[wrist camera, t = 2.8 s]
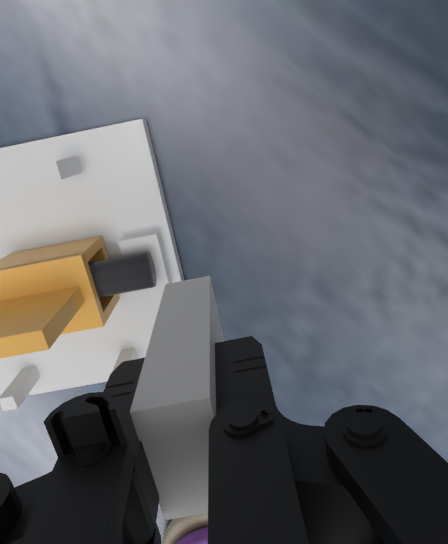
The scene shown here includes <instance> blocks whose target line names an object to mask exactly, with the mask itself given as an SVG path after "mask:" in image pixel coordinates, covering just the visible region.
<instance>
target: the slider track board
mask: <svg viewBox="0 0 448 544" xmlns="http://www.w3.org/2000/svg"><path fill="white" fill-rule="evenodd" d="M98 236H101V237H102V240H103V243H104V247H105V250H106V253H107V257H108V259H106V260H101V261H96V262H91V263H88V265H89V269H90V272H91V275H92V278H93V281H94V284H95V288H96V291H97V294H98V297H105V296H110V295H115V294H119V297H120V299H119V300H118V302H117V304H116V306H115V308H114V309H113V311H112V313H111V315H110V316H109V318H108V320H107V322H106V324H105V325H104V327H99V328H94V329H88V330H83V331H77V332H72V333H67V334H61V335H60V336H59V337H58V338H57V340H56V341H55V342H54V344H53V345H52V346H51V348H50V349H49V350H44V351H38V352H33V353H27V354H22V355H17V356H11V357H6V358H0V404H1V407H2V409H3V411H9V410H14V409H18V408H19V407H20V405H21V404H22V402H23V401H24V400H25V398H26V397H27V396H28V395H34V394H40V393H45V392H51V391H56V390H62V389H68V388H73V387H79V386H84V385H90V384H96V383H101V382H107V381H108V379H109V376H110V374H111V373H112V372H113V371H114V370H115V369H116V368H117V367H118V366H119V365H120V364H121V363H122V362H124V361H129V360H134V359H140V358H145V356H146V352H147V349H148V345H149V341H150V338H151V334H152V331H153V327H154V324H155V320H156V316H157V313H158V309H159V306H160V302H161V299H162V295H163V291H164V288H165V284H169V283H174V282H179V281H184V276H183V272H182V267H181V263H180V259H179V255H178V251H177V247H176V242H175V238H174V234H173V230H172V226H171V222H170V217H169V213H168V209H167V205H166V201H165V197H164V192H163V188H162V184H161V180H160V176H159V171H158V167H157V163H156V159H155V155H154V151H153V146H152V142H151V138H150V134H149V130H148V126H147V121H146V119H138V120H133V121H129V122H124V123H119V124H114V125H109V126H105V127H100V128H95V129H90V130H85V131H81V132H76V133H71V134H66V135H61V136H56V137H52V138H47V139H42V140H37V141H32V142H28V143H23V144H18V145H13V146H8V147H3V148H0V259H2V258H4V257H5V256H7V255H8V254H10V253H16V252H21V251H26V250H31V249H36V248H41V247H46V246H51V245H57V244H62V243H67V242H72V241H77V240H82V239H87V238H92V237H98Z"/></svg>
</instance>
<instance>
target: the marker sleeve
mask: <svg viewBox="0 0 448 544" xmlns="http://www.w3.org/2000/svg"><path fill="white" fill-rule="evenodd" d="M106 259H108V257H107V253H106V250H105V247H104V243H103V240H102V237H101V236H98V237H92V238H87V239H82V240H77V241H72V242H67V243H62V244H57V245H51V246H46V247H41V248H36V249H31V250H26V251H21V252H16V253H10V254H8V255H7V256H5V257H4V258H2V259H0V358H6V357H11V356H17V355H22V354H27V353H33V352H38V351H44V350H49V349H50V348H51V346H52V345H53V344H54V342H55V341H56V340H57V338H58V337H59V336H60V335H61V334H67V333H72V332H77V331H83V330H88V329H94V328H99V327H104V325H105V324H106V322H107V320H108V318H109V316H110V315H111V313H112V311H113V309H114V308H115V306H116V304H117V302H118V300H119V299H120V297H119V294H115V295H110V296H105V297H98V294H97V291H96V288H95V284H94V281H93V278H92V275H91V272H90V269H89V265H88V263H91V262H96V261H101V260H106Z"/></svg>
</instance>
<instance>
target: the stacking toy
mask: <svg viewBox="0 0 448 544" xmlns="http://www.w3.org/2000/svg"><path fill="white" fill-rule="evenodd" d="M162 544H208V513H205V514H199V515H193V516H187V517H182V518H176V519H173V520H172V521H171V522H170V524H169V525H168V527H167V529H166V531H165V534H164V537H163V542H162Z"/></svg>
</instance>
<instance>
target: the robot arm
mask: <svg viewBox="0 0 448 544" xmlns="http://www.w3.org/2000/svg"><path fill="white" fill-rule="evenodd" d="M105 387H106V389H104V391H103V393H102V392H97V393H88V394H84V395H81V396H77V397H75V398H73V399H71V400H69V401H67V402H65V403H63V404H61V405H60V406H59V407H57V408H56V409H55V410H54V411H52V412H51V413H50V414H49V416H48V417H47V418H46V419H45V421H44V424H45V426H46V429H47V431H48V434H49V436H50V439H51V441H52V444H53V446H54V448H55V451H56V453H57V456H58V459H57V462H56V464H55V466H54V468H53V470H52V472H50V473H48V474H46V475H44V476H41V477H39V478H36V479H34V480H32V481H29V482H27V483H24V484H22V485H20V486H17V487H15V488H14V486H13V484H12V482H11V480H10V479H9V477H8V476H7V475H6V474H3V473H0V544H161V535H160V532H159V529H158V526H157V523H156V518H157V511H158V504H160V507H161V510H162V513H163V516H164V519H165V520H170V519H176V518H182V517H187V516H193V515H199V514H205V513H208V544H448V463H447V462H446V461H445V460H444V459H443V458H442V457H441V456H440V455H439V454H438V453H437V452H435V451H434V450H433V449H432V448H431V447H430V446H429V445H428V444H427V443H426V442H425V441H424V440H423V439H421V438H420V437H419V436H418V435H417V434H416V433H415V432H414V431H413V430H412V429H411V428H410V427H408V426H407V425H406V424H405V423H404V422H403V421H402V420H401V419H400V418H399V417H397V416H396V415H394V414H392V413H391V412H389V411H388V410H385V409H382V408H379V407H375V406H369V405H355V406H350V407H345V408H342V409H341V410H339V411H337V412H335V413H333V414H332V415H331V416H330V418H329V419H328V420H327V421H326V423H325V427H322V426H309V425H303V424H299V423H296V422H293V421H291V420H289V419H287V418H286V417H284V416H283V415H282V414H281V413H280V412H279V411H278V409H277V407H276V404H275V400H274V396H273V392H272V387H271V383H270V379H269V374H268V370H267V366H266V361H265V357H264V353H263V348H262V344H260V343H259V342H258V341H257V340H256V339H254V338H253V337H252V336H250V337H244V338H239V339H234V340H228V341H224V338H223V333H222V329H221V324H220V319H219V315H218V310H217V306H216V301H215V297H214V292H213V287H212V283H211V278H210V276H205V277H200V278H195V279H189V280H184V281H179V282H174V283H169V284H165V288H164V291H163V295H162V299H161V302H160V306H159V309H158V313H157V316H156V320H155V324H154V327H153V331H152V334H151V338H150V341H149V345H148V349H147V352H146V356H145V358H140V359H134V360H129V361H124V362H122V363H121V364H120V365H119V366H118V367H117V368H116V369H115V370H114V371H113V372H112V373H111V374H110V376H109V379H108V381H107V384H106V386H105Z"/></svg>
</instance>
